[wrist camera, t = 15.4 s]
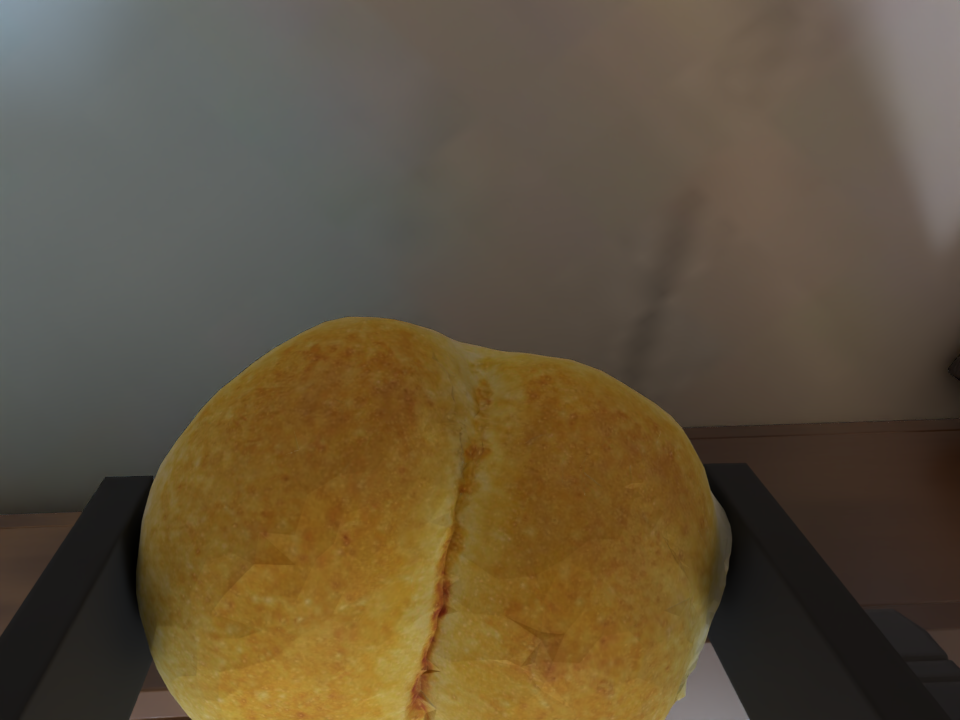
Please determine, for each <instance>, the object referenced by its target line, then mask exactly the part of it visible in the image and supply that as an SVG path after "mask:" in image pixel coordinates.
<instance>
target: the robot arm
mask: <svg viewBox="0 0 960 720" xmlns="http://www.w3.org/2000/svg"><path fill="white" fill-rule="evenodd" d="M703 466H704V468H705V472H706V475H707V479H708V483H709V486H710V490H711V492H712V493H713V495H714V496H715V498H716V499H717V501H718V502H719V503H720V505H721V506H722V508H723V509H724V511H725V513H726V516H727V518H728V521H729V523H730V526H731V533H732V547H731V554H730V558H729V569H728V572H727V575H726V585H725V588H724V592H723V595H722V598H721V602H720V604H719V607H718V609H717V611H716V612H715V615H714V617H713V620H712V622H711V625H710V628H709V631H708V635H707V636H708V638H709V640H710V642H711V644H712V646H713V648H714V650H715V652H716V654H717V656H718V658H719V660H720V662H721V664H722V666H723V668H724V670H725V672H726V674H727V676H728V678H729V680H730V682H731V684H732V686H733V688H734V690H735V692H736V694H737V696H738V698H739V700H740V702H741V704H742V706H743V707H744V709H745V711H746V713H747V715H748V717H749V719H750V720H960V668H959V667H958V666H957V665H956V664H955V663H954V662H953V660H949V659H948V655H947V654H946V652H945V651H944V650H943V649H942V648H941V647H940V646H939V644H938V643H937V642H936V641H935V640H934V639H933V638H932V636H931V635H930V634H929V633H928V632H927V631H926V630H925V629H924V628H922V627H921V626H919V625H918V624H916V623H914V622H913V621H911V620H910V619H908V618H907V617H905V616H904V615H902V614H901V613H899V612H897V611H896V610H894V609H893V608H892V609H863V608H862V607H861V606H860V604H859V603H858V602H857V601H856V599H855V598H854V597H853V596H852V594H851V593H850V592H849V591H848V589H847V588H846V587H845V586H844V584H843V583H842V582H841V581H840V579H839V578H838V577H837V576H836V574H835V573H834V572H833V571H832V569H831V568H830V567H829V566H828V564H827V563H826V562H825V561H824V559H823V558H822V557H821V556H820V554H819V553H818V552H817V551H816V549H815V548H814V547H813V546H812V544H811V543H810V542H809V541H808V539H807V538H806V537H805V536H804V534H803V533H802V532H801V531H800V529H799V528H798V527H797V526H796V524H795V523H794V522H793V521H792V519H791V518H790V517H789V516H788V514H787V513H786V512H785V511H784V509H783V508H782V507H781V506H780V504H779V503H778V502H777V501H776V499H775V498H774V497H773V496H772V494H771V493H770V492H769V491H768V489H767V488H766V487H765V486H764V484H763V483H762V482H761V481H760V479H759V478H758V477H757V476H756V474H755V473H754V472H753V471H752V469H751V468H750V467H749V466H748V464H747V463H711V464H703ZM153 481H154V479H153V476H132V477H105V479H104V480H103V482H102V483H101V485H100V486H99V488H98V489H97V491H96V492H95V494H94V495H93V497H92V498H91V500H90V501H89V503H88V504H87V506H86V507H85V509H84V510H83V512H82V513H81V515H80V516H79V518H78V519H77V521H76V522H75V524H74V526H73V527H72V529H71V530H70V532H69V533H68V535H67V536H66V538H65V539H64V541H63V542H62V544H61V545H60V547H59V548H58V550H57V551H56V553H55V554H54V556H53V557H52V559H51V560H50V562H49V563H48V565H47V566H46V568H45V569H44V571H43V572H42V574H41V576H40V577H39V579H38V580H37V582H36V583H35V585H34V586H33V588H32V589H31V591H30V592H29V594H28V595H27V597H26V598H25V600H24V601H23V603H22V604H21V606H20V607H19V609H18V610H17V612H16V613H15V615H14V616H13V618H12V619H11V621H10V622H9V624H8V626H7V627H6V629H5V630H4V632H3V633H2V635H1V636H0V720H129V719H130V716H131V714H132V711H133V709H134V706H135V704H136V701H137V698H138V696H139V693H140V691H141V688H142V686H143V683H144V681H145V678H146V676H147V673H148V670H149V668H150V665H151V663H152V660H153V657H152V655H151V652H150V649H149V645H148V641H147V638H146V634H145V630H144V627H143V624H142V621H141V617H140V613H139V607H138V601H137V595H136V567H137V559H138V551H139V543H140V533H141V523H142V518H143V515H144V511H145V507H146V504H147V500H148V496H149V492H150V489H151V486H152V484H153Z"/></svg>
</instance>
